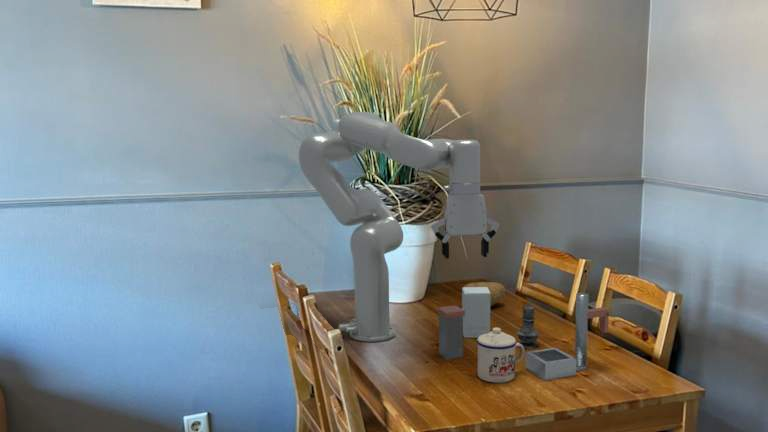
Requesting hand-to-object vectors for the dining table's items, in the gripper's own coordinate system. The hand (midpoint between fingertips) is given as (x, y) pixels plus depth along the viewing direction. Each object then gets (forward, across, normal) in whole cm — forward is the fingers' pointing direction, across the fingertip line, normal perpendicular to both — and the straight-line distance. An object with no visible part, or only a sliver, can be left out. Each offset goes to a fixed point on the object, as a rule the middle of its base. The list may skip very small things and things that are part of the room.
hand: (465, 256), depth 179 cm
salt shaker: (+25, +17, +3) cm, 31 cm away
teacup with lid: (+25, +5, -17) cm, 31 cm away
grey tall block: (+25, -4, -2) cm, 26 cm away
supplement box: (+25, +6, +14) cm, 30 cm away
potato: (+25, +15, +40) cm, 50 cm away
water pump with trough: (+25, +22, -15) cm, 37 cm away
